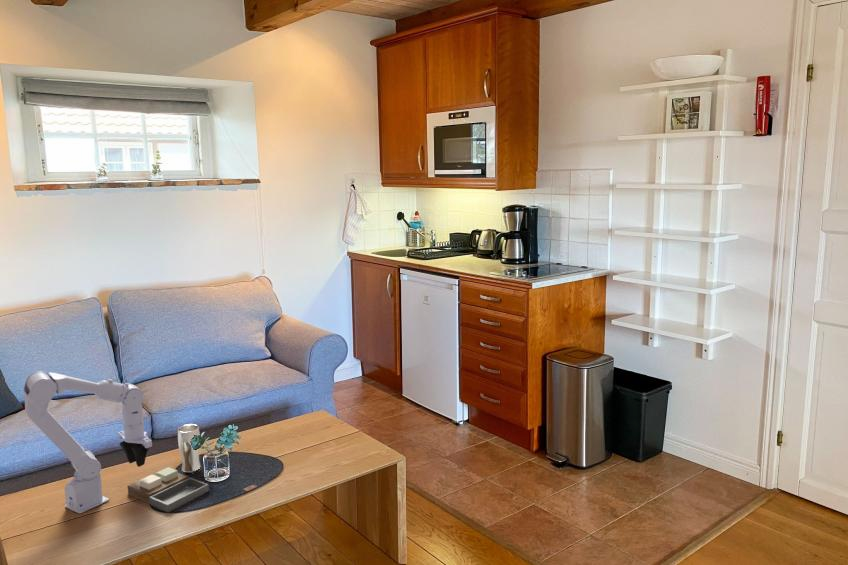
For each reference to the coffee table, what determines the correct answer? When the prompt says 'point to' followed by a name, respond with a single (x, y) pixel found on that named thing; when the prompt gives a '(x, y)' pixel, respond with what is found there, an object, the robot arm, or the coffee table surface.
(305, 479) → the coffee table surface
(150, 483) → the cream tile
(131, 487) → the walnut board
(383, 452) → the coffee table surface
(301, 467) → the coffee table surface
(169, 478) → the sage tile
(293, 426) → the coffee table surface
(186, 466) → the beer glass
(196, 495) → the box
